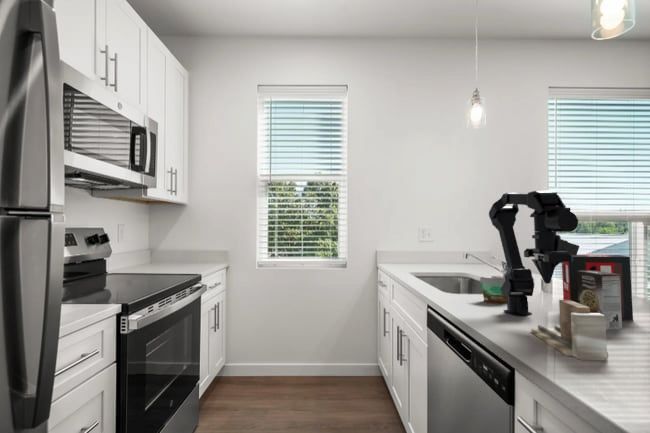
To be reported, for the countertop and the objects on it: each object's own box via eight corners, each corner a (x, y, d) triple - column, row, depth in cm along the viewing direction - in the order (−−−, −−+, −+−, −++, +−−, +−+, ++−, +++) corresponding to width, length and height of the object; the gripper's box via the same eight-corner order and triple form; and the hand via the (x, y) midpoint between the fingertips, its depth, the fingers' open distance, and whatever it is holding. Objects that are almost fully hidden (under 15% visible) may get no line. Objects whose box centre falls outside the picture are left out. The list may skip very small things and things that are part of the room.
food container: (484, 304, 142) (483, 278, 142) (480, 300, 148) (479, 276, 148) (517, 304, 140) (516, 278, 140) (512, 301, 146) (511, 276, 146)
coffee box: (578, 322, 113) (575, 270, 113) (597, 321, 113) (594, 269, 114) (603, 330, 104) (600, 274, 104) (623, 329, 104) (620, 273, 105)
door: (559, 338, 93) (558, 299, 93) (571, 339, 93) (569, 299, 93) (578, 350, 84) (576, 307, 85) (591, 350, 84) (589, 307, 84)
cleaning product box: (571, 317, 119) (568, 256, 120) (564, 311, 127) (561, 254, 128) (633, 320, 113) (629, 256, 114) (620, 314, 122) (617, 254, 122)
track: (531, 331, 104) (529, 296, 104) (565, 332, 102) (563, 297, 103) (571, 359, 82) (569, 315, 82) (614, 360, 81) (612, 315, 81)
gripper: (592, 231, 99) (595, 288, 98) (558, 231, 117) (561, 279, 117) (548, 232, 101) (551, 288, 100) (522, 231, 119) (524, 279, 119)
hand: (547, 283), depth 109 cm, fingers closed
